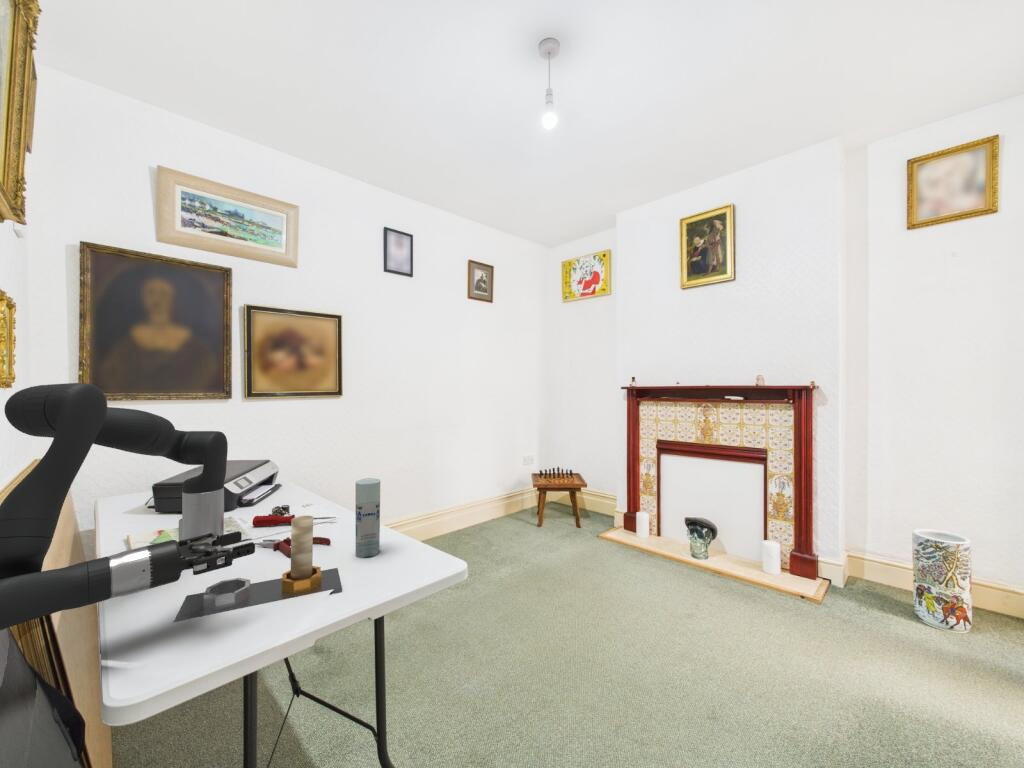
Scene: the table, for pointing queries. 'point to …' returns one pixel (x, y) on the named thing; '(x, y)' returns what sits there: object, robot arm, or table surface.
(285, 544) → the pliers
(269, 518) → the screwdriver
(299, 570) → the peg
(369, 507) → the spray paint can
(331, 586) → the grey board
